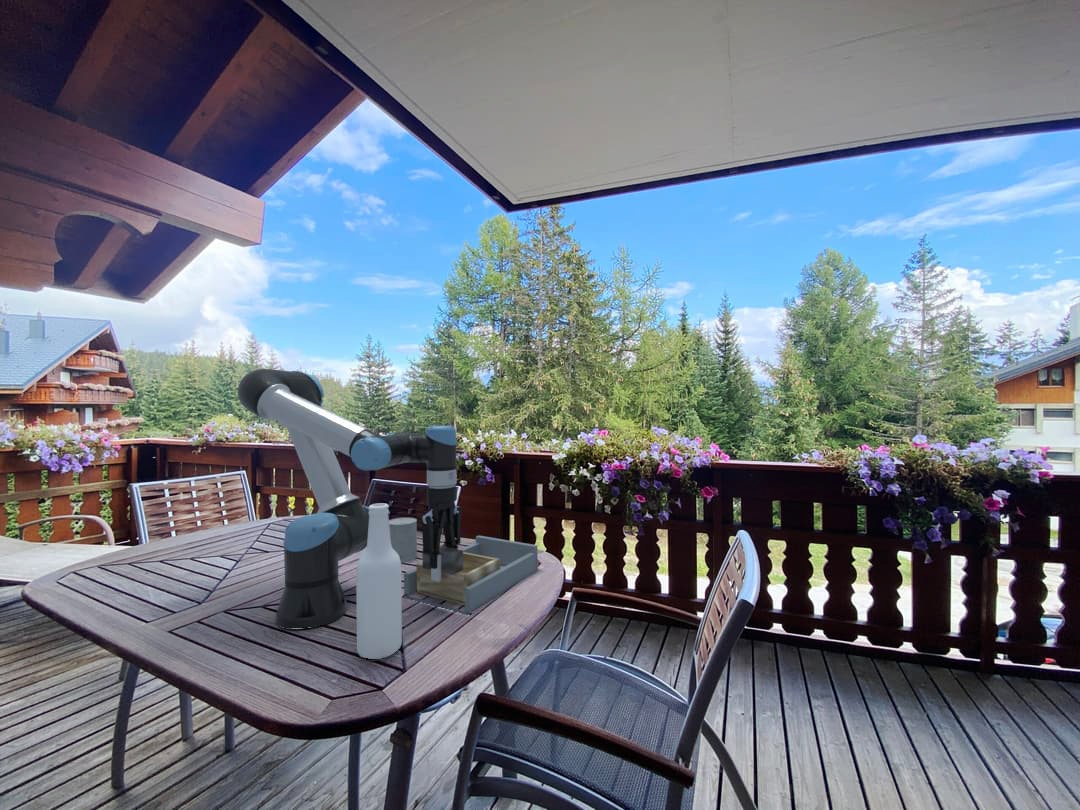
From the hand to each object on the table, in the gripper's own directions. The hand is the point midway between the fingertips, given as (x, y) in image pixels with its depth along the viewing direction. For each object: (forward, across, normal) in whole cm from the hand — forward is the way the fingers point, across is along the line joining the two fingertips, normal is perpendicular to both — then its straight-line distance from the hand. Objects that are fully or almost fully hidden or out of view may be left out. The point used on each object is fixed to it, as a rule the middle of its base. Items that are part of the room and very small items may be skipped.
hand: (442, 577), depth 117 cm
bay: (+7, +13, 0) cm, 15 cm away
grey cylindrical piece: (+7, +20, +36) cm, 42 cm away
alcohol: (+7, -24, -4) cm, 25 cm away
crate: (+5, +6, 0) cm, 8 cm away
